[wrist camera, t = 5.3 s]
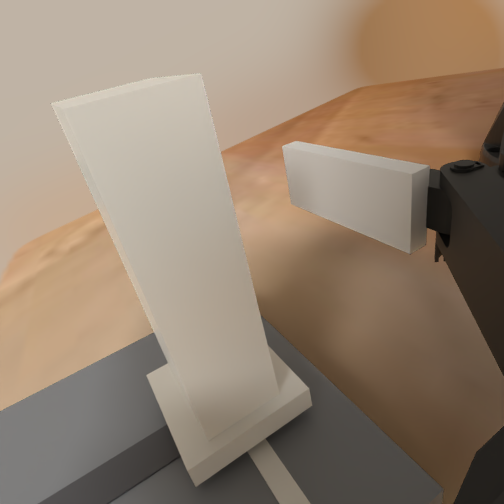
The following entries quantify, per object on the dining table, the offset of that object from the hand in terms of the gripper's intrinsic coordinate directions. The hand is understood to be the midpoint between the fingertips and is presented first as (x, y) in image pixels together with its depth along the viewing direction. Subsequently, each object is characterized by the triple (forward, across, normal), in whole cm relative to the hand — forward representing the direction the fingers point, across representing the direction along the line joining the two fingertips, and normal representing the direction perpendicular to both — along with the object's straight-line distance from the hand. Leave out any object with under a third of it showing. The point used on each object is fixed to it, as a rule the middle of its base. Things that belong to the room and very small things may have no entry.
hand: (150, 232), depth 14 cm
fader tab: (-3, 0, -7) cm, 7 cm away
